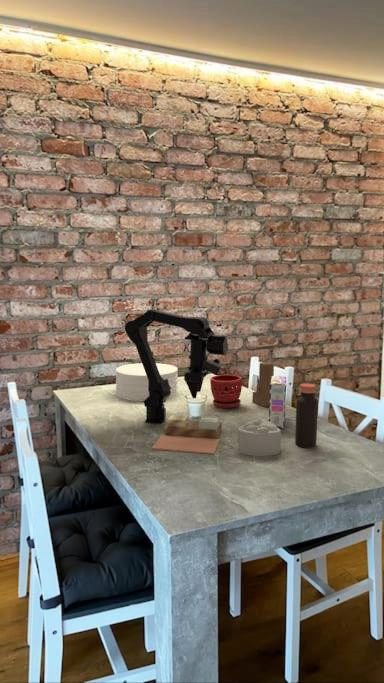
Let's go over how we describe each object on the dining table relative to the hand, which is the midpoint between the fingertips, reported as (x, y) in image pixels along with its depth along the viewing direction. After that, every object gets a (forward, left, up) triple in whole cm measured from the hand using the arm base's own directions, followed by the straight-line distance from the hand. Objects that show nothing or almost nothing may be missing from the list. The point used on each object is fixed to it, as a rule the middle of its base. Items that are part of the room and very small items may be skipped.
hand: (196, 394), depth 182 cm
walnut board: (+1, -8, -12) cm, 14 cm away
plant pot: (+7, +30, -12) cm, 33 cm away
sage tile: (+6, -9, -9) cm, 14 cm away
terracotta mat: (+1, -20, -12) cm, 23 cm away
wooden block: (+22, +35, -12) cm, 43 cm away
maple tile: (-5, -9, -9) cm, 14 cm away
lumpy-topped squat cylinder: (+24, -19, -12) cm, 33 cm away
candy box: (+29, +11, -12) cm, 33 cm away
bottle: (+39, -11, -12) cm, 42 cm away
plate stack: (-31, +42, -12) cm, 53 cm away
